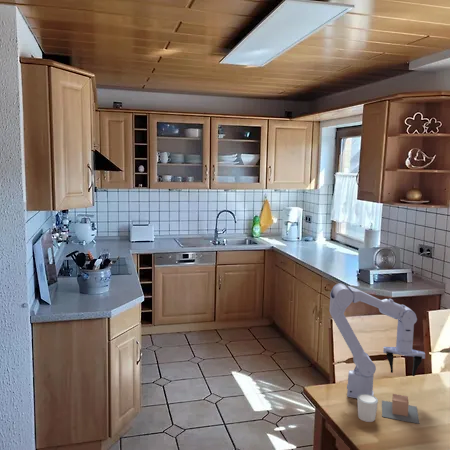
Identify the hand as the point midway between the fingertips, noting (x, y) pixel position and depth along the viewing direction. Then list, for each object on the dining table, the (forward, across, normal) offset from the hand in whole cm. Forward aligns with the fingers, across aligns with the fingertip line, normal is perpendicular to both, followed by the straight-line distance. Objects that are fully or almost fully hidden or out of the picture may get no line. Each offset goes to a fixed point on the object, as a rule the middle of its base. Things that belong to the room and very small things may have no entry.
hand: (402, 373), depth 164 cm
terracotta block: (+9, -1, -12) cm, 15 cm away
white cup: (+10, -12, -20) cm, 26 cm away
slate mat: (+9, -1, -12) cm, 15 cm away
